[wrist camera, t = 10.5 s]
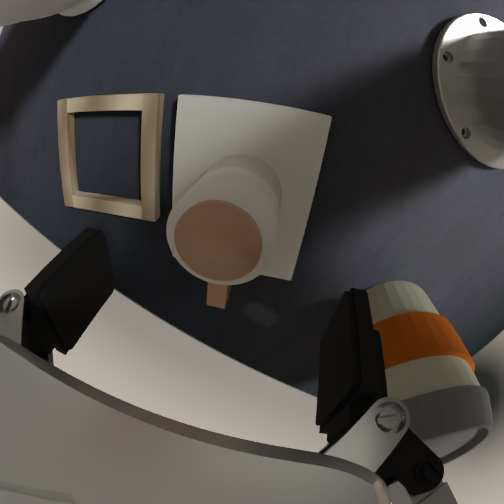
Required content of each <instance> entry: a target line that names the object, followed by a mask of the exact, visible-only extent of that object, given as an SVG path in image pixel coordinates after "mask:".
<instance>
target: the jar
mask: <svg viewBox="0 0 504 504" xmlns="http://www.w3.org/2000/svg"><path fill="white" fill-rule="evenodd" d="M101 1H103V0H0V27H1V26H6V25H10V24H15V23H19V22H22V21H29V20H35V19H40V18H45V17H48V16H51V15H54V14H57V13H59V14H61V15H63V16H76V15H80V14H82V13H85V12H87V11H89V10H90V9H92V8H93V7H95V6H96V5H98V4H99V3H100V2H101Z"/></svg>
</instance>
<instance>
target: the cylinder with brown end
mask: <svg viewBox="0 0 504 504" xmlns="http://www.w3.org/2000/svg"><path fill="white" fill-rule="evenodd" d="M281 199H282V190H281V185H280V182H279V179H278V177H277V176H276V174H275V172H274V171H273V170H272V169H271V168H270V167H269V166H268V165H267V164H266V163H264V162H263V161H261V160H259V159H257V158H255V157H252V156H247V155H232V156H228V157H225V158H223V159H221V160H219V161H218V162H216V163H215V164H214V165H213V166H212V167H211V168H210V169H209V170H208V171H207V172H206V173H205V174H204V175H203V176H202V177H201V178H200V179H199V180H198V181H197V182H196V183H195V184H194V185H193V186H192V187H191V188H190V189H189V190H188V191H187V192H186V193H185V194H184V195H183V197H182V198H181V199H180V200H179V201H178V202H177V203H176V204H175V206H174V207H173V208H172V210H171V212H170V214H169V217H168V220H167V226H166V234H167V240H168V244H169V247H170V249H171V251H172V253H173V255H174V257H175V258H176V260H177V261H178V262H179V263H180V264H181V265H182V266H183V267H184V268H185V269H186V270H187V271H188V272H190V273H191V274H193V275H194V276H196V277H198V278H200V279H202V280H204V281H207V282H208V287H207V305H210V306H214V307H218V308H223V309H225V307H226V303H227V300H228V297H229V294H230V290H231V287H232V285H237V284H242V283H245V282H248V281H250V280H252V279H254V278H256V277H257V276H259V275H260V274H261V273H262V272H263V271H264V270H265V269H266V268H267V266H268V265H269V264H270V262H271V259H272V257H273V254H274V249H275V242H276V235H277V228H278V221H279V213H280V206H281Z"/></svg>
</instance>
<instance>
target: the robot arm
mask: <svg viewBox="0 0 504 504" xmlns="http://www.w3.org/2000/svg"><path fill="white" fill-rule="evenodd" d="M443 56H444V58H445V60H444V58H443ZM432 74H433V82H434V90H435V93H436V97H437V101H438V105H439V108H440V110H441V113H442V115H443V118H444V120H445V122H446V124H447V126H448V128H449V130H450V131H451V133H452V135H453V136H454V138H455V139H456V140H457V142H458V143H459V144H460V146H461V147H462V148H463V149H464V150H465V151H466V152H467V153H468V154H469V155H470V156H472V157H473V158H475V159H476V160H478V161H479V162H481V163H483V164H485V165H487V166H489V167H491V168H495V169H499V170H504V23H502V22H501V21H499V20H498V19H496V18H494V17H491V16H489V15H486V14H481V13H468V14H463V15H460V16H457V17H455V18H453V19H452V20H450V21H449V22H448V23H446V25H445V26H444V27H443V29H442V30H441V31H440V33H439V35H438V38H437V40H436V42H435V47H434V52H433V58H432ZM24 289H25V291H26V293H27V294H26V295H25V296H24V295H23V293H22V292H21V291H20V290H10V291H7V292H5V293H4V294H3V295H2V296H1V297H0V504H391V503H390V502H392V504H457V502H456V500H455V498H454V495H453V493H452V492H451V490H450V487H449V485H448V484H447V482H445V483H443V481H442V478H443V474H444V466H443V463H442V461H441V459H440V458H439V457H438V456H437V455H436V454H435V453H434V452H433V451H432V450H431V449H430V448H429V447H428V446H427V445H426V444H425V443H424V442H423V441H422V440H421V439H420V438H419V437H418V436H417V435H415V434H414V433H413V432H412V431H411V430H410V429H409V428H408V427H409V425H410V414H409V411H408V409H407V407H406V406H405V405H404V404H403V403H402V402H401V401H399V400H398V399H396V398H392V397H388V393H387V383H386V374H385V365H384V357H383V350H382V343H381V336H380V333H379V331H378V330H374V328H373V322H372V315H371V309H370V303H369V297H368V293H367V291H364V290H359V289H355V288H351V289H350V291H345V292H344V294H343V296H342V298H341V300H340V303H339V305H338V307H337V309H336V311H335V313H334V315H333V317H332V319H331V321H330V323H329V325H328V327H327V329H326V331H325V333H324V335H323V338H322V340H321V345H320V365H319V383H318V398H317V413H316V425H319V426H320V432H319V433H325V434H327V441H328V442H329V443H328V444H327V445H326V446H325V447H324V448H323V449H322V450H320V451H319V452H318V453H316V452H309V451H303V450H297V449H292V448H285V447H279V446H274V445H268V444H263V443H258V442H253V441H249V440H243V439H240V438H235V437H230V436H227V435H223V434H219V433H215V432H211V431H207V430H204V429H200V428H197V427H194V426H190V425H187V424H184V423H181V422H178V421H175V420H172V419H169V418H166V417H163V416H160V415H158V414H155V413H152V412H150V411H147V410H144V409H142V408H139V407H136V406H134V405H132V404H129V403H127V402H125V401H122V400H120V399H118V398H116V397H113V396H111V395H109V394H107V393H105V392H103V391H101V390H98V389H96V388H94V387H92V386H90V385H88V384H86V383H84V382H82V381H80V380H79V379H77V378H75V377H73V376H71V375H69V374H67V373H66V372H64V371H62V370H60V369H59V368H57V367H55V366H54V365H53V353H52V350H53V349H54V347H55V348H56V350H58V351H59V352H61V353H63V354H65V355H66V353H67V352H68V350H70V349H72V348H73V347H74V346H75V344H76V343H77V341H78V340H79V338H80V337H81V335H82V334H83V332H84V331H85V330H86V328H87V327H88V325H89V324H90V322H91V321H92V320H93V318H94V317H95V316H96V314H97V313H98V311H99V310H100V309H101V307H102V306H103V305H104V303H105V302H106V300H107V299H108V298H109V296H110V295H111V294H112V292H113V290H114V281H113V277H112V272H111V267H110V262H109V257H108V252H107V247H106V241H105V237H104V235H103V234H102V232H101V231H100V230H97V229H93V228H87V229H85V230H84V231H83V232H82V233H81V234H79V235H78V236H77V237H76V238H75V239H74V240H73V241H72V242H71V243H70V244H68V245H67V246H66V247H65V248H64V249H63V250H62V251H61V252H60V253H59V254H58V255H57V256H56V257H55V258H54V259H53V260H52V261H51V262H49V264H47V265H46V267H44V269H42V271H40V273H39V274H38V275H37V276H36V277H35V278H34V279H33V280H32V281H31V282H30V283H29V284H28V285H27V286H26V287H25V288H24Z"/></svg>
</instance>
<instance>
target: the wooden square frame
mask: <svg viewBox="0 0 504 504" xmlns="http://www.w3.org/2000/svg"><path fill="white" fill-rule="evenodd" d="M163 106H164V94H153V93H145V94H112V95H97V96H85V97H76V98H67V99H62V100H58V142H59V157H60V169H61V178H62V186H63V194H64V201H65V206H70V207H75V208H81V209H87V210H92V211H98V212H103V213H109V214H115V215H120V216H126V217H131V218H136V219H142V220H147V221H153V222H156V220H157V219H158V218H159V217H160V161H161V136H162V119H163ZM110 110H142V125H141V200H136V199H129V198H123V197H116V196H110V195H103V194H96V193H89V192H81V191H79V190H78V180H77V169H76V155H75V132H74V112H86V111H110Z"/></svg>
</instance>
